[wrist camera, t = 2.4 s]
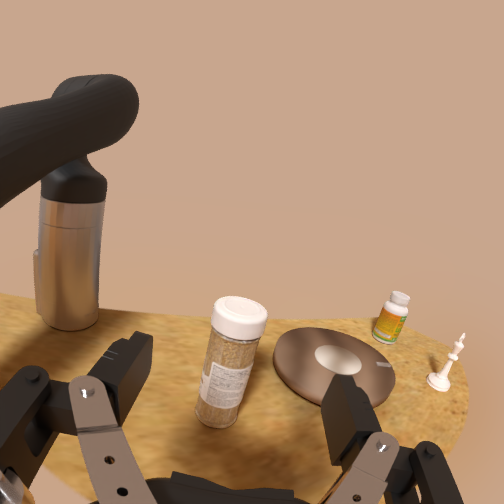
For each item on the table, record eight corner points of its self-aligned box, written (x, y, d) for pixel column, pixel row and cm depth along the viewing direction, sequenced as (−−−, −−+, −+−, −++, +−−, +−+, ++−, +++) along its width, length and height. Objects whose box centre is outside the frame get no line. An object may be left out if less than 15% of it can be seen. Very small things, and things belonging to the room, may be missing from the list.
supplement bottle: (392, 348, 50) (411, 303, 47) (368, 337, 53) (386, 292, 50) (397, 339, 54) (415, 296, 51) (375, 329, 57) (391, 287, 54)
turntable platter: (274, 403, 29) (278, 393, 29) (271, 326, 46) (274, 317, 46) (408, 412, 29) (414, 403, 29) (370, 343, 47) (373, 335, 46)
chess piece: (421, 380, 40) (448, 329, 37) (433, 372, 42) (458, 325, 40) (442, 395, 36) (471, 343, 33) (452, 386, 38) (479, 337, 35)
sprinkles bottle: (201, 395, 30) (223, 289, 26) (241, 407, 29) (272, 303, 26) (188, 421, 25) (207, 309, 22) (231, 436, 25) (265, 326, 22)
